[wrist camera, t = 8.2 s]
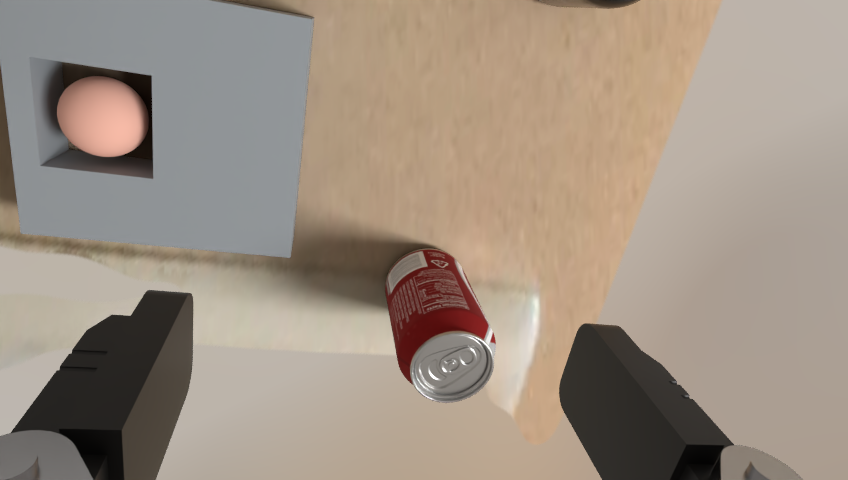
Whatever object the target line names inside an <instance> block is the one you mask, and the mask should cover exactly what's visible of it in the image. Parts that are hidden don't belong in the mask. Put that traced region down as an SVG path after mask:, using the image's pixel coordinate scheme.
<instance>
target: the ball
mask: <svg viewBox="0 0 848 480" xmlns="http://www.w3.org/2000/svg"><path fill="white" fill-rule="evenodd" d="M57 118H58V122H59V125H60V128H61V130H62V132H63V133H64V135H65V136H66V137H67V138H68V140H69V141H70V142H71V143H72V144H74V145H75V146H76V147H78V148H79V149H81V150H83V151H85V152H87V153H89V154H92V155H96V156H101V157H115V156H120V155H124V154H126V153H129V152H131V151H132V150H134V149H135V148H137V147H138V146H139V145H140V144H141V142H142V141H143V140H144V138H145V136H146V134H147V131H148V128H149V115H148V111H147V108H146V106H145V103H144V102H143V100H142V98H141V97H140V96H139V95H138V94H137V92H136V91H135V90H134V89H132V88H131V87H130V86H128V85H127V84H125V83H123V82H121V81H119V80H116V79H114V78H110V77H105V76H91V77H86V78H82V79H80V80H78V81H75V82H74V83H72V84H71V85H70V86H68V87H67V88H66V89H65V91H64V92H63V93H62V95H61V97H60V99H59V102H58V105H57Z"/></svg>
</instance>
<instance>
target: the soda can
mask: <svg viewBox="0 0 848 480" xmlns="http://www.w3.org/2000/svg"><path fill="white" fill-rule="evenodd" d="M385 293H386V299H387V304H388V310H389V315H390V321H391V326H392V332H393V337H394V343H395V348H396V354H397V358H398V364H399V367H400V370H401V372H402V373H403V375H404V376H405V378H406V379H407V380H408V381H409V382H410V383H411V384H413V385H414V387H415V388H416V390H417V391H418V392H419V393H420V394H421V395H423V396H424V397H426V398H428V399H430V400H432V401H436V402H443V403H450V402H457V401H461V400H464V399H467V398H469V397H471V396H473V395H474V394H476V393H477V392H479V391H480V390H481V389H482V388H483V387H484V386H485V385H486V383H487V382H488V381H489V379H490V377H491V375H492V372H493V368H494V359H493V358H494V355H495V349H496V342H495V337H494V334H493V331H492V329H491V327H490V325H489V323H488V321H487V319H486V317H485V314H484V312H483V310H482V308H481V306H480V304H479V302H478V300H477V298H476V296H475V294H474V292H473V290H472V288H471V286H470V284H469V282H468V279H467V277H466V275H465V273H464V271H463V269H462V267H461V265H460V264H459V262H458V261H457V260H456V259H455V258H454V257H453V256H451V255H450V254H448V253H446V252H444V251H441V250H437V249H429V248H427V249H419V250H415V251H412V252H410V253H408V254H406V255H404V256H402V257H401V258H400V259H398V260H397V261H396V262H395V264H394V265H393V266H392V267H391V269H390V271H389V272H388V275H387V278H386V282H385Z"/></svg>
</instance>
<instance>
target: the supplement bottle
mask: <svg viewBox="0 0 848 480" xmlns="http://www.w3.org/2000/svg"><path fill="white" fill-rule="evenodd" d="M539 1H541V2H543V3H545V4H548V5H551V6H556V7H574V8H607V9H609V8H620V7H625V6H628V5H631V4H634V3H636V2H638V1H640V0H539Z"/></svg>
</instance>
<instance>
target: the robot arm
mask: <svg viewBox="0 0 848 480" xmlns="http://www.w3.org/2000/svg"><path fill="white" fill-rule="evenodd" d="M192 355H193V297H192V294H191V293H181V292H167V291H154V290H148V291H147V292H146V293H145V294H144V296H143V297H142V299H141V301H140V302H139V304H138V305H137V307H136V308H135V310H134V312H133V313H132V315H131V316H123V315H111V316H109V317H108V318H106V319H104V320H103V321H101V322H99V323H98V324H96V325H95V326H93V327H91V328H90V329H88V330H87V331H86V332H85V333H84V335H83V336H82V338H81V339H80V340H79V342H78V343H77V344H76V346H75V347H74V348H73V350H72V354H69V355H68V356H67V358H66V359H65V360H64V362H63V363H62V365H61V366H60V370H59V371H56V373H55V374H54V375H53V377H52V378H51V379H50V381H49V382H48V383H47V385H46V386H45V387H44V389H43V390H42V392H41V393H40V394H39V396H38V397H37V398H36V400H35V401H34V402H33V404H32V405H31V406H30V408H29V409H28V410H27V412H26V413H25V414H24V416H23V417H22V418H21V420H20V421H19V422H18V424H17V425H16V426H15V428H14V429H13V430H12V432H11V433H10V434H6V435H3V436H0V480H155V479H156V477H157V474H158V472H159V469H160V466H161V464H162V461H163V458H164V455H165V453H166V450H167V447H168V445H169V441H170V439H171V436H172V434H173V431H174V428H175V426H176V423H177V420H178V417H179V415H180V412H181V409H182V407H183V404H184V401H185V398H186V396H187V392H188V389H189V384H190V379H191V372H192V360H193V359H192V358H193V356H192ZM559 396H560V402H561V406H562V409H563V411H564V413H565V414H566V416H567V418H568V420H569V422H570V423H571V425H572V427H573V429H574V430H575V432H576V434H577V436H578V437H579V439H580V441H581V443H582V445H583V446H584V448H585V450H586V452H587V453H588V455H589V457H590V459H591V461H592V462H593V464H594V466H595V467H596V469H597V471H598V473H599V475H600V477H601V478H602V480H803V479H802V478H801V477H800V476H799V475H798V474H797V473H796V472H795V471H794V470H792V469H791V468H790V467H788V466H787V465H786V464H784V463H783V462H781V461H780V460H778V459H776V458H775V457H773V456H771V455H769V454H767V453H765V452H763V451H760V450H757V449H755V448H751V447H747V446H742V445H734V444H733V443H732V442H731V441H730V440H729V439H728V438H727V436H726V435H725V434H724V433H723V432H722V431H721V430H720V429H719V428H718V426H716V424H715V423H714V422H713V421H712V420H711V419H710V418H709V417H708V416H707V414H706V413H705V412H704V411H703V410H702V409H701V408H700V407H699V406H698V405H697V403H696V402H695V401H694V400H693V399H690V398H689V394H688V393H687V392H686V391H685V390H684V389H683V388H682V387H681V386H680V385H677V381H676V380H675V379H674V378H673V377H672V376H671V375H670V373H669V372H668V371H667V370H666V369H665V368H664V367H663V366H662V365H661V364H660V363H659V362H657V361H656V360H654V359H653V358H651V357H650V356H649V355H647V354H646V353H644V352H643V351H641V350H640V349H639V347H638V346H637V345H636V344H635V343H634V342H633V341H632V339H631V338H630V337H629V336H628V335H627V334H626V333H625V331H624V330H623V329H622V328H621V327H619V326H614V325H599V324H583V325H582V326H581V327H580V328H579V329H578V331H577V334H576V337H575V340H574V343H573V345H572V348H571V351H570V354H569V357H568V360H567V363H566V366H565V369H564V372H563V375H562V378H561V381H560V388H559Z"/></svg>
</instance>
